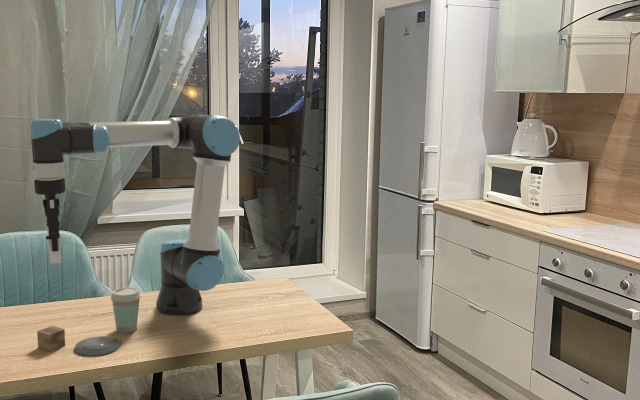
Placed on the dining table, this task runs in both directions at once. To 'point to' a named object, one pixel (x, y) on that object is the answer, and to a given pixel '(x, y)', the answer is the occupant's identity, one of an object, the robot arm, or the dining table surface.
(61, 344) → the walnut block
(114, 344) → the saucer
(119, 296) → the coffee cup
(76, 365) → the dining table surface
